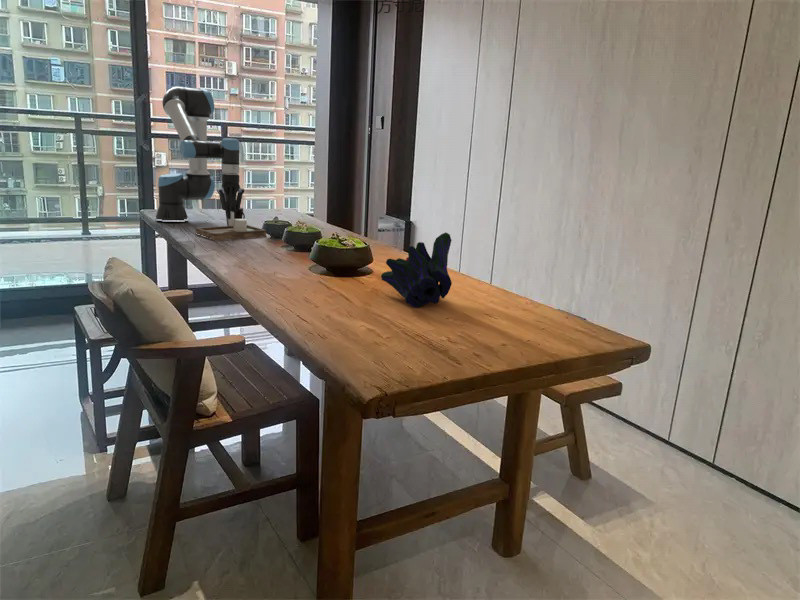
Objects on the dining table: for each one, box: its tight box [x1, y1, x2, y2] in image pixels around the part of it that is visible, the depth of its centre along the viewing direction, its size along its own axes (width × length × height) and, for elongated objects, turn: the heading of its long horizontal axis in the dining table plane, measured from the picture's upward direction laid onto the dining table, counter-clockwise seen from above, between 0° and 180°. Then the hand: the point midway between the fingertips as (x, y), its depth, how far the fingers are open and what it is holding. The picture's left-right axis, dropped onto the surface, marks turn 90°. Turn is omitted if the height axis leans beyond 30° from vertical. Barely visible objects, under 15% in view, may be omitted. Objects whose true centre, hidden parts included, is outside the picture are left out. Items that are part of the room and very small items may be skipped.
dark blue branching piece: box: [380, 232, 453, 309], centre depth 196 cm, size 21×26×30 cm
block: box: [233, 218, 248, 231], centre depth 286 cm, size 5×5×5 cm
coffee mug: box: [224, 206, 246, 226], centre depth 300 cm, size 12×9×10 cm
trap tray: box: [195, 224, 267, 241], centre depth 283 cm, size 17×26×3 cm, turn 135°
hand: (231, 225), depth 286 cm, fingers closed
